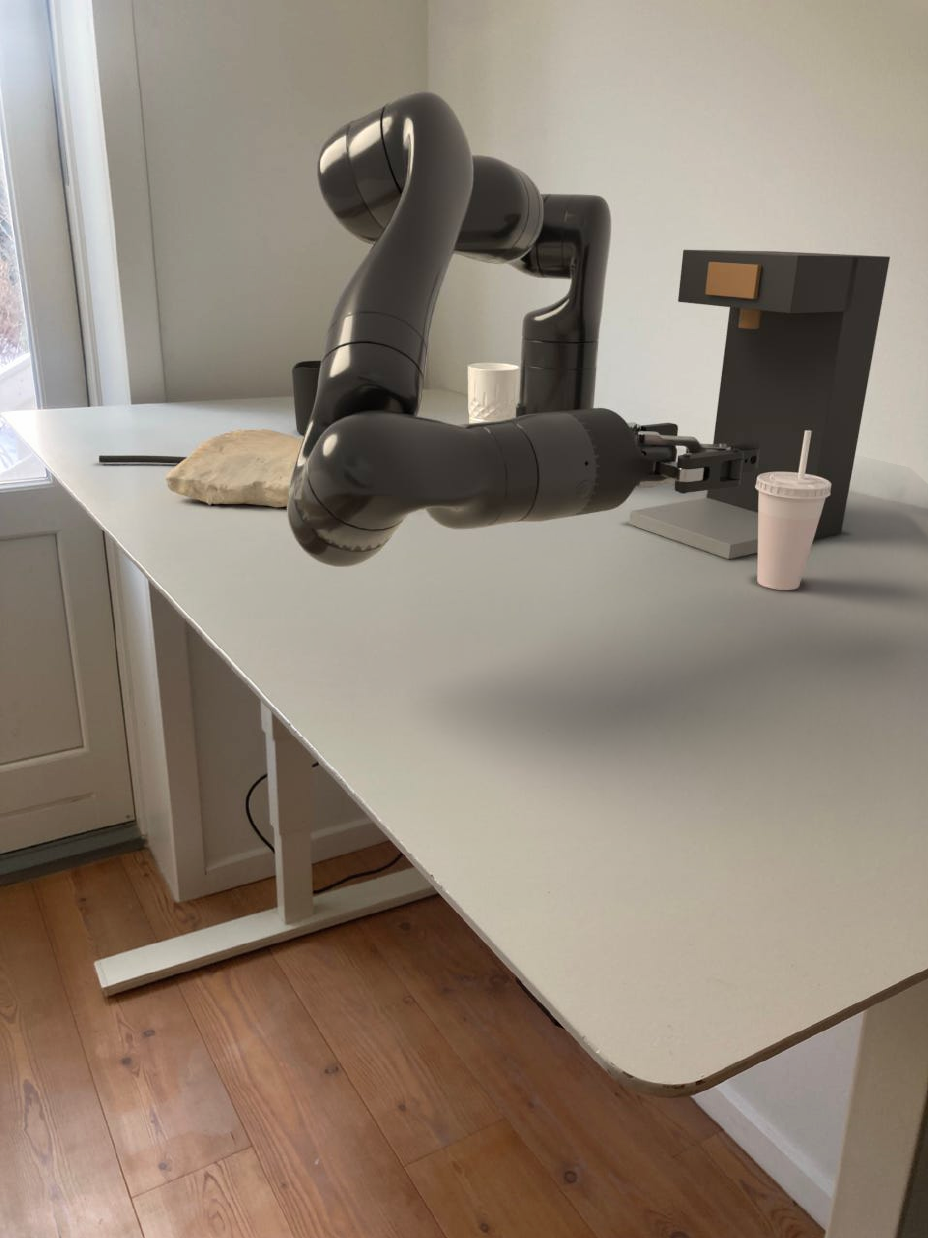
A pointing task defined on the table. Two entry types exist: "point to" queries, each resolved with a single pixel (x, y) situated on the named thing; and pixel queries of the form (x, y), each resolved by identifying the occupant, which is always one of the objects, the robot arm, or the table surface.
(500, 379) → the white cup
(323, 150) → the robot arm
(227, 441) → the beige stone slab
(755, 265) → the coffee maker
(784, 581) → the smoothie
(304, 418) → the pen holder
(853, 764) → the table surface
